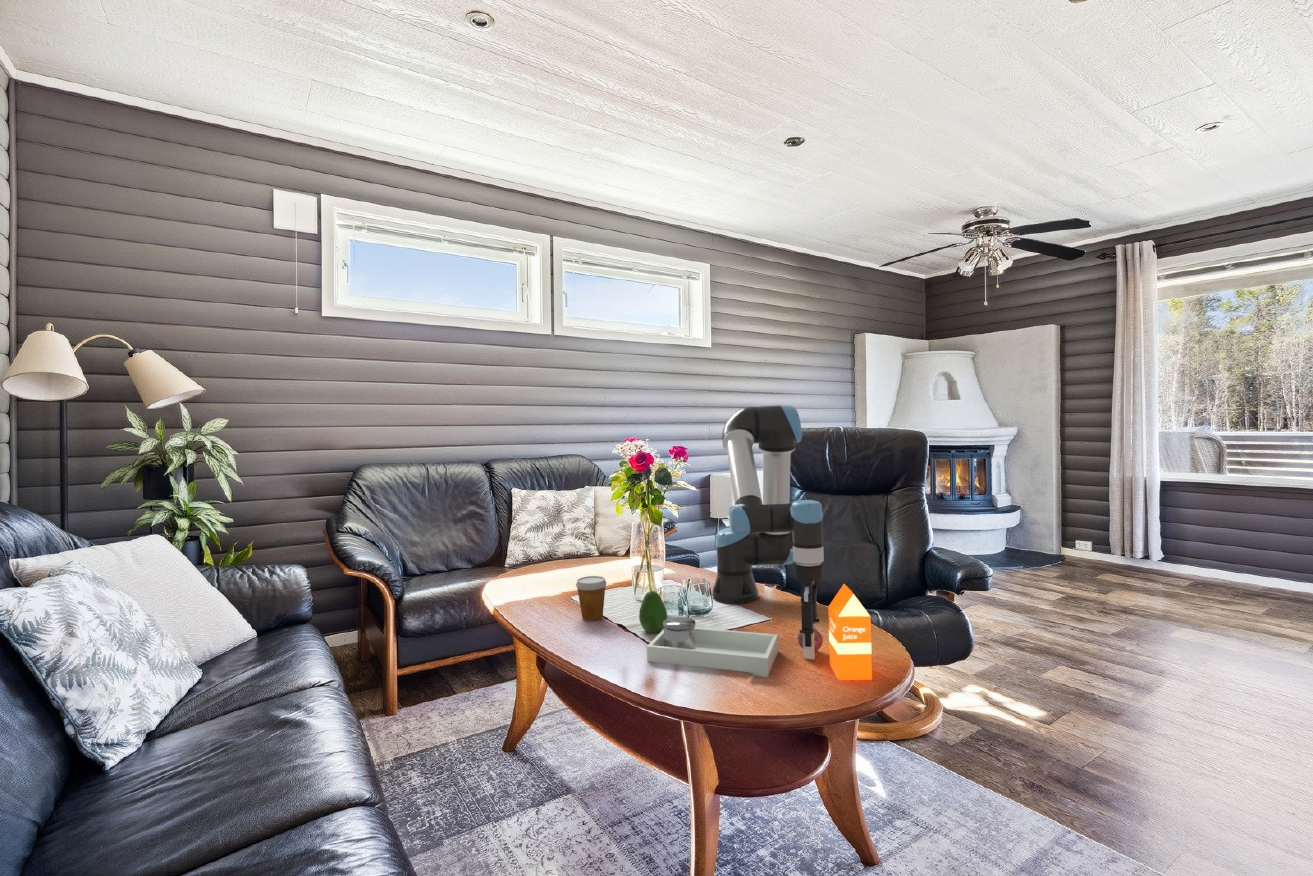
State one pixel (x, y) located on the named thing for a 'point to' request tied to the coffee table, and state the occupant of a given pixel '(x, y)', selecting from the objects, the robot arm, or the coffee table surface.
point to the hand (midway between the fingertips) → (810, 653)
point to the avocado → (652, 613)
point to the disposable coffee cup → (591, 597)
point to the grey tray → (721, 651)
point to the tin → (679, 632)
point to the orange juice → (849, 637)
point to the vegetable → (817, 640)
